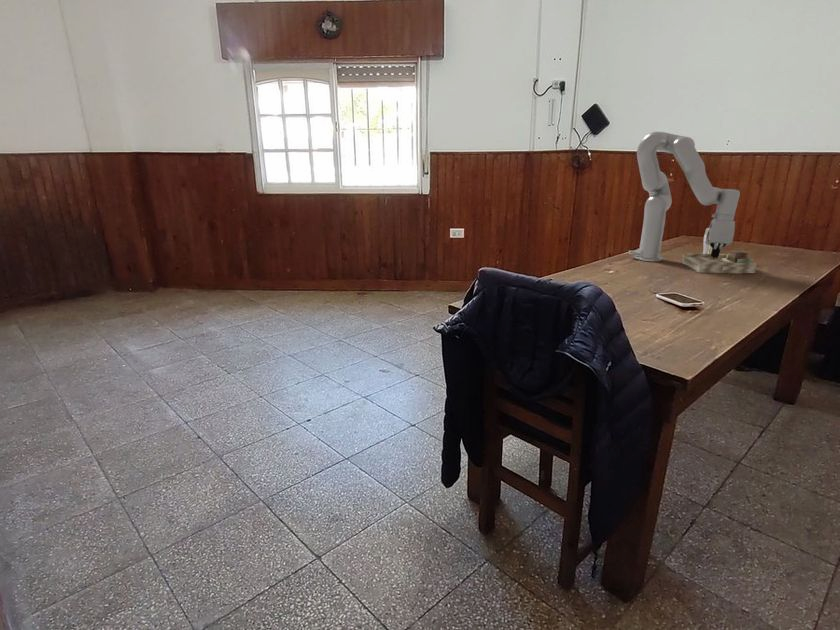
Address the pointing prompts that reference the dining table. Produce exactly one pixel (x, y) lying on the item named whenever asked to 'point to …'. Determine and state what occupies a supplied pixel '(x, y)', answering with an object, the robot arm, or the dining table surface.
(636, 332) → the dining table surface
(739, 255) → the walnut block
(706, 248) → the beer glass
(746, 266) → the tray
